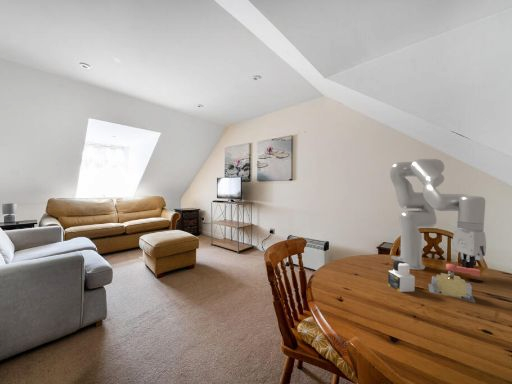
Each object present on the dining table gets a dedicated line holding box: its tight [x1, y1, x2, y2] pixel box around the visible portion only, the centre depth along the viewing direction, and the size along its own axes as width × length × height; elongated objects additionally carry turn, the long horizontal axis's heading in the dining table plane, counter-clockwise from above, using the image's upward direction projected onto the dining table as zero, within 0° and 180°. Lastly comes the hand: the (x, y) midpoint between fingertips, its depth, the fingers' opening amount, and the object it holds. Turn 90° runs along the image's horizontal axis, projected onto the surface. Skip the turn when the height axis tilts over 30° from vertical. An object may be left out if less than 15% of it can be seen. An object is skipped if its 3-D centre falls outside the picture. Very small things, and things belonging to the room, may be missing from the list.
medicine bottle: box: [387, 260, 416, 293], centre depth 94 cm, size 7×7×12 cm
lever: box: [445, 263, 481, 278], centre depth 86 cm, size 3×10×2 cm, turn 46°
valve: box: [431, 270, 473, 300], centre depth 89 cm, size 12×6×10 cm, turn 53°
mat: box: [428, 283, 476, 303], centre depth 90 cm, size 14×9×1 cm, turn 53°
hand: (467, 269), depth 87 cm, fingers closed
